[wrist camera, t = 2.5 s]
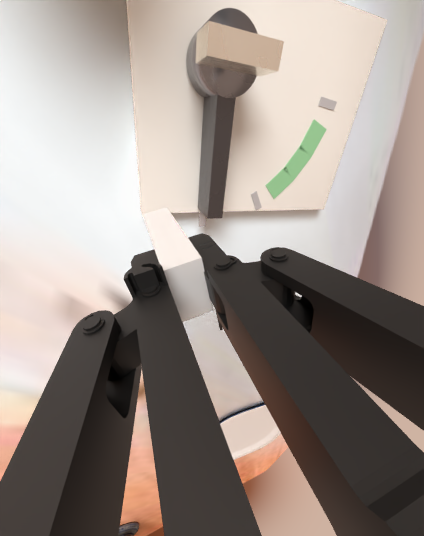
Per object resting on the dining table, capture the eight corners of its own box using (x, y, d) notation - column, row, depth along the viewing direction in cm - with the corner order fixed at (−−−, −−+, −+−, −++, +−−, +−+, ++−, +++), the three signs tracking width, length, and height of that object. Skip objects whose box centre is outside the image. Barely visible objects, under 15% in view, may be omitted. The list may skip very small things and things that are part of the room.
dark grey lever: (184, 17, 16) (211, -22, 12) (246, 33, 17) (290, 5, 13) (180, 208, 22) (196, 229, 18) (225, 207, 24) (250, 226, 20)
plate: (300, 387, 59) (304, 393, 58) (273, 437, 72) (276, 443, 70) (207, 415, 50) (210, 424, 49) (195, 467, 63) (197, 475, 61)
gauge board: (121, -64, 14) (122, -83, 13) (372, 25, 22) (388, 19, 20) (141, 223, 24) (143, 229, 22) (311, 216, 31) (320, 221, 30)
